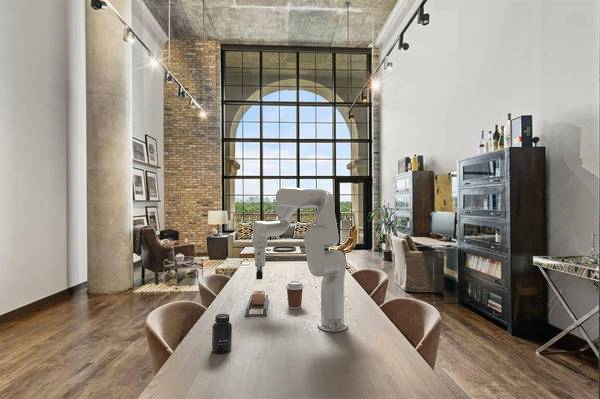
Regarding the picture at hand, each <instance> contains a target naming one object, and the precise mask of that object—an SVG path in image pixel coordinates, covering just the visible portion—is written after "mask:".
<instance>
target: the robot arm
mask: <svg viewBox="0 0 600 399" xmlns="http://www.w3.org/2000/svg"><path fill="white" fill-rule="evenodd" d="M275 202H276V203H277V205H276V207H275V212H276V215H277V216H278V217H280V219H278V220H277V221H275V220H274V221H264V220H256V221H254V222H253V223H252V225H253V226H252V248H254V266H255V268H256V273H255V274H256V278H255V279H256V280H263V277H264V276H263V275H264V273H263V272H264V270H263V268H265V266H266V249H267V248H268V238H269V237H277V236H282V235H283V234H284V233H286V231H287V230H288V229H289V228H290V226H291V224H292V216H293V215H294V213H295V212H296V211H297V210H298V209H312V208H315V209H316V212H315V222H316V225H312V226H310V227H308V228H307V229H306V230H305V232H304V236H303V242H304V244H303V245H304V249H305V256H306V262H307V268H308V271H309V272H310V274H311V275H312V276H314V277H317V278H321V277H322V279H321V285H320V286H321V288H320V289H321V290H320V291H321V296H320V300H321V301H320V304H321V306H320V308H321V310H320V318H321V319H320V320H318V322H317V323H316V324H317V327H318V329H320V330H322V331H325V332H329V333H330V332H333V333H336V332H338V333H339V332H343V331H346V330H347V329H348V327H349V326H348V322H347V321H345V279H346V278H345V277H346V270H347V265H348V263H347V258H346V256H345V254H344V253H343V252H342V251H340V250H337V249H334V250H333V249H331V250H325V249H327V248H333V247H335V246H337V245H338V244H339V241H340V235H339V229H338V224H337V223H338V222H337V218H336V213H335V212H336V210H335V199H334V196H333V195H332V194H331V192H330V191H328V190H326V189H322V188H308V187H307V188H304V187H303V188H301V187H293V186H291V187H290V186H289V187H288V186H287V187H286V186H284V187H280V188H279V189H278V190H277V192H276V194H275Z"/></svg>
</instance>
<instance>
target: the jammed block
mask: <svg viewBox="0 0 600 399" xmlns="http://www.w3.org/2000/svg"><path fill="white" fill-rule="evenodd" d="M251 295H252V305H255V304H264V302H265V297H266V291H265V290H253V291H252V294H251Z"/></svg>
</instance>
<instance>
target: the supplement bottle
mask: <svg viewBox="0 0 600 399" xmlns="http://www.w3.org/2000/svg"><path fill="white" fill-rule="evenodd" d="M214 322H215V323H213V324H212V326H211V327H212V328H211V352H212V353H214V354H217V355H218V354H219V355H223V354H227V353H229V352H230V351H231V350H232V346H233V345H232V343H233V342H232V341H233V324H232V323H231V322H230V314H229V313H228V314H227V313H218V314H216V315H215V320H214Z"/></svg>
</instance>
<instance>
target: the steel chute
mask: <svg viewBox="0 0 600 399" xmlns="http://www.w3.org/2000/svg"><path fill="white" fill-rule="evenodd" d="M269 306H270V298H269V294H265V302H264V304H255V305H252V294H250V297H249V298H248V302H247V304H246V308H245V313H244V317H268V311H269Z"/></svg>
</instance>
